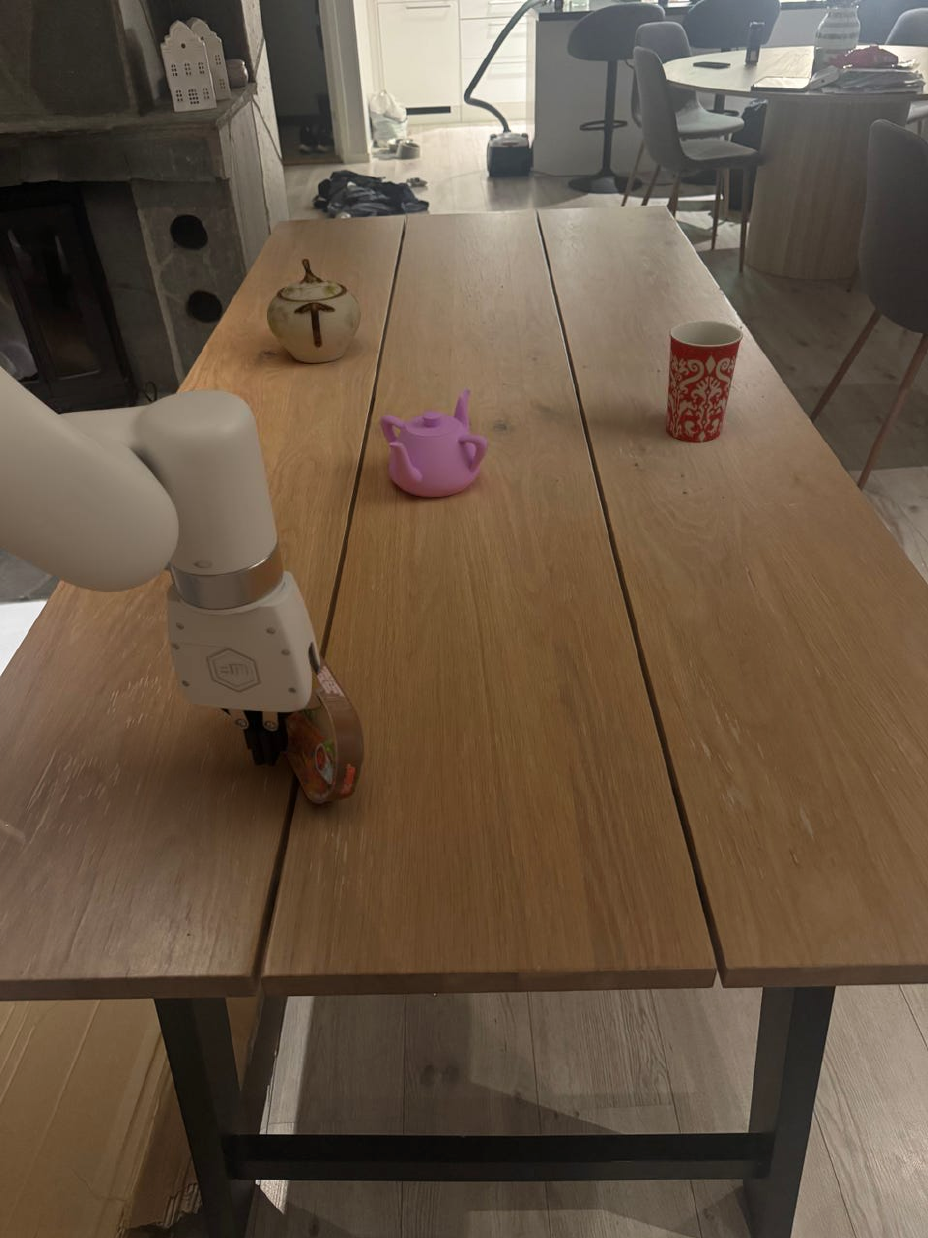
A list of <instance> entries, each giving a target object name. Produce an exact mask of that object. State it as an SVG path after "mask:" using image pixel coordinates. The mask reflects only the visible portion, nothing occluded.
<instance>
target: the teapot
mask: <svg viewBox="0 0 928 1238" xmlns="http://www.w3.org/2000/svg"><path fill="white" fill-rule="evenodd" d="M470 395H471V390H470V389H465V390H463V391H462V392H461V393H460V395H459V396H458V399H457V403H456V406H455V409H454V415H449V414H446V413H441V412H440V411H438V410H427V411H425V412H423V413H422V414H419V415H417V416H414V417H412V418H409V420H407V421H404V420H403V419H400V418H399V417H397V416H394V415H391V414H384V415H382V416H381V418H380V427H381V430H382V434H383V435H384V438H385V439H386V442H387V445H388V446H389V447H390V449H391V451H390V453H389V458H388V459H389V460H388V474H389V477H390V478H391V480H392V481H393V482H394V483H395V485H397V486H398V487H399V488H400V489H402V491H404V492H405V493H408V494H410V495H413V496H416V497H420V498H421V497H422V498H443V497H444V498H445V497H449V496H452V495H456V494H459V493H460V492H462V491H465V490H466V489H467V488H469V486H470V485H471V484H473V482H474V481H475V480H476V479H477V478H478V476H479V474H480V473H481V469H482V462H483V460H484V458H485V456H486V455H487V453H488V449H489V443H488V440H487V438H486V437H485V436H483V435H479V434H471V426H470V420H469V418H470V417H469V414H468V402H469V398H470ZM394 427H396V428H397V429H399V430H400V431H399V432H398V435H397V436H396V434H395V431H394Z"/></svg>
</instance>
